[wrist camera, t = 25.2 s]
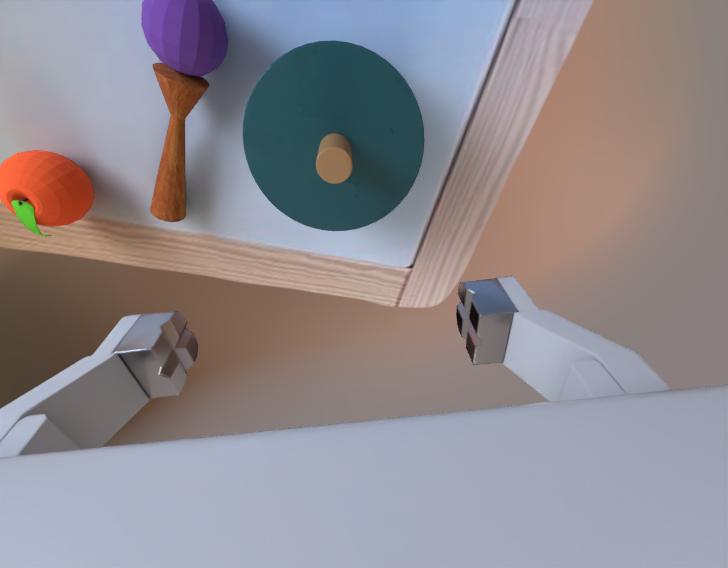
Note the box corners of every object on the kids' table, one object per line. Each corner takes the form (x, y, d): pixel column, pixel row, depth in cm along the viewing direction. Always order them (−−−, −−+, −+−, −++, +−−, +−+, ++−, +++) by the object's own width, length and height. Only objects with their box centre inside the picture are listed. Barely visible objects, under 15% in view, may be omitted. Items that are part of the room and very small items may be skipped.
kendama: (120, 211, 34) (121, -45, 23) (158, 190, 39) (175, -30, 27) (179, 237, 35) (209, 2, 23) (209, 213, 40) (246, 9, 28)
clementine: (114, 223, 39) (74, 256, 33) (43, 209, 38) (-11, 241, 32) (103, 152, 35) (55, 175, 29) (23, 133, 33) (-45, 153, 27)
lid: (221, 51, 23) (194, 54, 19) (422, 30, 23) (440, 28, 19) (270, 232, 31) (259, 263, 27) (420, 216, 31) (433, 245, 26)
